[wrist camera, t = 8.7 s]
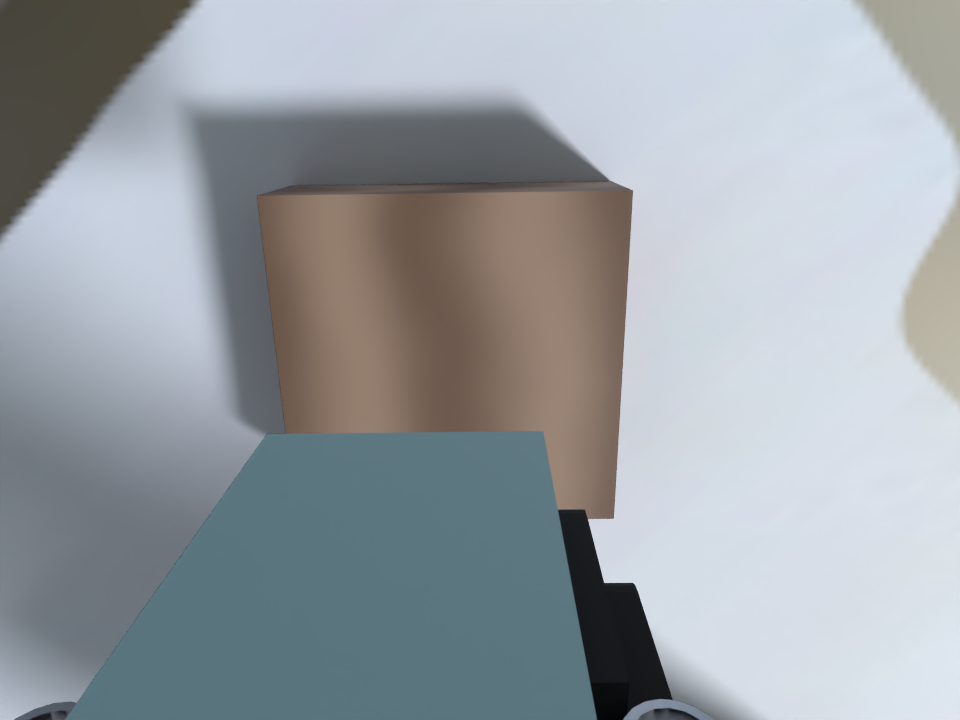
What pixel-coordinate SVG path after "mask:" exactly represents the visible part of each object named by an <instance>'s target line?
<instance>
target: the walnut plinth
mask: <svg viewBox="0 0 960 720" xmlns="http://www.w3.org/2000/svg"><path fill="white" fill-rule="evenodd" d="M632 197H633V190H630V189H628V188H626V187H623V186H621V185H619V184H616V183H614V182H611V181H601V182H530V183H460V184H389V185H319V186H290V187H286V188H283V189H279V190H276V191H272V192H269V193H265V194H261V195H258V196H257V200H258V208H259V216H260V225H261V233H262V241H263V249H264V258H265V266H266V274H267V283H268V291H269V299H270V307H271V316H272V324H273V332H274V340H275V349H276V357H277V365H278V373H279V382H280V390H281V398H282V407H283V415H284V423H285V431H286V434H313V433H407V432H502V431H543V433H544V438H545V444H546V449H547V454H548V460H549V465H550V470H551V476H552V481H553V487H554V492H555V497H556V503H557V508H558V510H563V509H584V510H585V511H586V515H587V519H614V504H615V487H616V470H617V453H618V436H619V419H620V402H621V385H622V368H623V351H624V334H625V317H626V300H627V283H628V265H629V248H630V231H631V214H632Z"/></svg>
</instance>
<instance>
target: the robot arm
mask: <svg viewBox="0 0 960 720" xmlns="http://www.w3.org/2000/svg"><path fill="white" fill-rule="evenodd" d="M558 513H559V519H560V524H561V529H562V535H563V540H564V546H565V551H566V556H567V562H568V567H569V572H570V578H571V583H572V588H573V594H574V599H575V604H576V610H577V615H578V621H579V626H580V631H581V637H582V642H583V647H584V653H585V658H586V663H587V669H588V674H589V679H590V685H591V690H592V696H593V701H594V706H595V712H596V717H597V720H713V719H712V718H711V717H710V716H709V715H707V714H706V713H704V712H702V711H701V710H699V709H697V708H696V707H694V706H692V705H689V704H686V703H683V702H680V701H677V700H672V696H671V693H670V690H669V687H668V684H667V681H666V678H665V675H664V672H663V669H662V666H661V662H660V659H659V656H658V653H657V650H656V647H655V644H654V641H653V638H652V635H651V631H650V628H649V625H648V622H647V619H646V616H645V613H644V610H643V607H642V604H641V601H640V597H639V594H638V591H637V589H636V587H635V585H634V584H633V583H604V581H603V577H602V573H601V569H600V565H599V561H598V558H597V554H596V550H595V546H594V542H593V538H592V534H591V530H590V526H589V522H588V519H587V515H586V511H585V510H584V509H563V510H558ZM76 704H77V703H75V702H62V703H53V704H50V705H46V706H43V707H40V708H37V709H34V710H32V711H30V712H28V713H26V714H24V715H22V716H20V717H18V718H16V719H15V720H65V719H66V718H67V716H68V715H69V713H70V712H71V711H72V709H73V708H74V706H75V705H76Z"/></svg>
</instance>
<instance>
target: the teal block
mask: <svg viewBox="0 0 960 720" xmlns="http://www.w3.org/2000/svg"><path fill="white" fill-rule="evenodd" d="M65 720H597V717H596V712H595V706H594V701H593V696H592V690H591V685H590V679H589V674H588V669H587V663H586V658H585V653H584V647H583V642H582V637H581V631H580V626H579V621H578V615H577V610H576V604H575V599H574V594H573V588H572V583H571V578H570V572H569V567H568V562H567V556H566V551H565V546H564V540H563V535H562V529H561V524H560V519H559V513H558V508H557V503H556V497H555V492H554V487H553V481H552V476H551V470H550V465H549V460H548V454H547V449H546V444H545V438H544V433H543V431H502V432H407V433H313V434H266V436H265V437H264V439H263V440H262V442H261V443H260V444H259V446H258V447H257V449H256V450H255V451H254V453H253V454H252V456H251V457H250V459H249V460H248V461H247V463H246V464H245V466H244V467H243V468H242V470H241V471H240V473H239V474H238V476H237V477H236V478H235V480H234V481H233V483H232V484H231V485H230V487H229V488H228V490H227V491H226V493H225V494H224V495H223V497H222V498H221V500H220V501H219V502H218V504H217V505H216V507H215V508H214V510H213V511H212V512H211V514H210V515H209V517H208V518H207V519H206V521H205V522H204V524H203V525H202V527H201V528H200V529H199V531H198V532H197V534H196V535H195V536H194V538H193V539H192V541H191V542H190V544H189V545H188V546H187V548H186V549H185V551H184V552H183V553H182V555H181V556H180V558H179V559H178V561H177V562H176V563H175V565H174V566H173V568H172V569H171V570H170V572H169V573H168V575H167V576H166V578H165V579H164V580H163V582H162V583H161V585H160V586H159V587H158V589H157V590H156V592H155V593H154V595H153V596H152V597H151V599H150V600H149V602H148V603H147V604H146V606H145V607H144V609H143V610H142V612H141V613H140V614H139V616H138V617H137V619H136V620H135V621H134V623H133V624H132V626H131V627H130V629H129V630H128V631H127V633H126V634H125V636H124V637H123V638H122V640H121V641H120V643H119V644H118V646H117V647H116V648H115V650H114V651H113V653H112V654H111V655H110V657H109V658H108V660H107V661H106V662H105V664H104V665H103V667H102V668H101V670H100V671H99V672H98V674H97V675H96V677H95V678H94V679H93V681H92V682H91V684H90V685H89V687H88V688H87V689H86V691H85V692H84V694H83V695H82V696H81V698H80V699H79V701H78V702H77V704H76V705H75V706H74V708H73V709H72V711H71V712H70V713H69V715H68V716H67V718H66V719H65Z"/></svg>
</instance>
